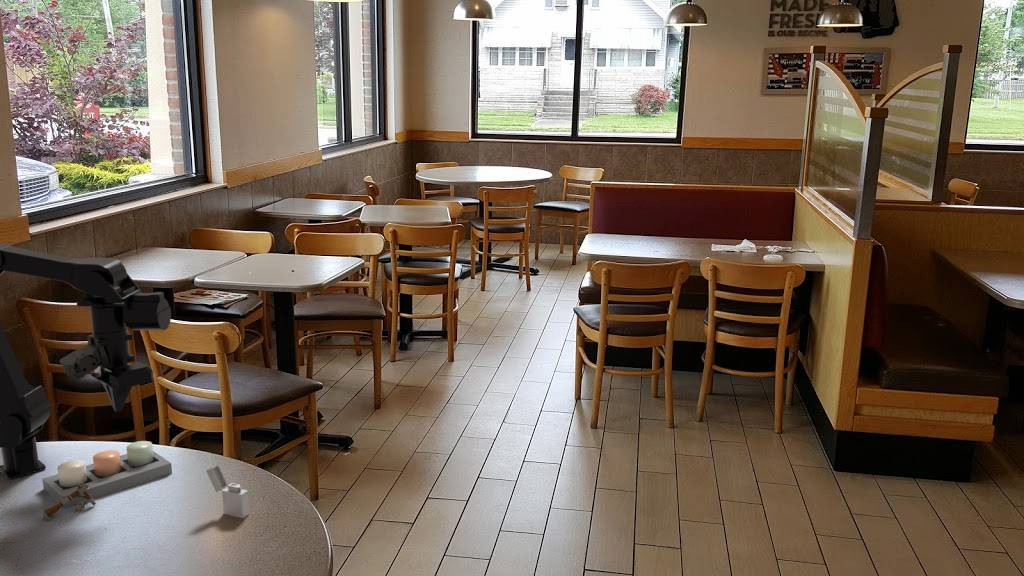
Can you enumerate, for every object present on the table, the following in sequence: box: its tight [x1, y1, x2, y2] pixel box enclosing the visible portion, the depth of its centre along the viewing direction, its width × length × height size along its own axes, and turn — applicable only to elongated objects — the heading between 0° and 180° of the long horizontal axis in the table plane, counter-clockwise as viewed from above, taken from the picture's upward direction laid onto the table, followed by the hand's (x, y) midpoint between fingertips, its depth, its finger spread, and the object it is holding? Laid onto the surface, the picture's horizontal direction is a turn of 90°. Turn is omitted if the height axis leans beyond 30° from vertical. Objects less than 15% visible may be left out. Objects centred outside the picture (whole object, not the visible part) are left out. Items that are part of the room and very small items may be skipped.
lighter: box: [205, 464, 250, 519], centre depth 147 cm, size 7×2×8 cm, turn 67°
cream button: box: [57, 459, 87, 488], centre depth 154 cm, size 4×4×3 cm
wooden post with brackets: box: [40, 483, 97, 522], centre depth 147 cm, size 2×8×4 cm, turn 128°
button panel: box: [41, 450, 173, 508], centre depth 159 cm, size 10×19×2 cm, turn 136°
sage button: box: [126, 440, 154, 467], centre depth 162 cm, size 4×4×3 cm
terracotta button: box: [92, 449, 121, 477], centre depth 158 cm, size 4×4×3 cm
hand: (118, 410), depth 161 cm, fingers closed
